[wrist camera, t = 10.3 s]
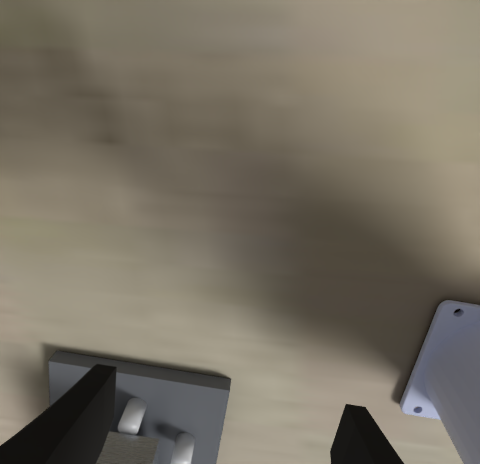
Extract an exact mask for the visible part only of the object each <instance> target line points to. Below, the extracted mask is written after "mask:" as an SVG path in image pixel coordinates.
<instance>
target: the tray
mask: <svg viewBox="0 0 480 464" xmlns="http://www.w3.org/2000/svg"><path fill="white" fill-rule="evenodd" d="M96 364H102V365H108V366H114V367H117V371H116V390H115V408H114V418H113V421H112V424H111V427H110V430H109V431H110V432H116V433H123V434H130V435H137V436H143V437H150V438H157V439H159V458H158V464H216V461H217V456H218V450H219V445H220V440H221V434H222V429H223V424H224V418H225V413H226V408H227V403H228V397H229V392H230V383H231V379H228V378H222V377H215V376H209V375H203V374H197V373H191V372H185V371H179V370H172V369H166V368H160V367H154V366H148V365H142V364H136V363H130V362H123V361H117V360H111V359H105V358H99V357H93V356H87V355H80V354H74V353H68V352H62V351H56V352H55V353H54V355H53V356H52V357H51V359H50V360H49V394H50V406H51V405H52V404H53V403H54V402H56V401H57V400H58V399H59V398H60V397H61V396H62V395H64V394H65V393H66V392H67V391H68V390H69V389H70V388H71V387H72V386H73V385H74V384H75V383H77V382H78V381H79V380H80V379H81V378H82V377H83V376H84V375H85V374H86V373H87V372H88V371H89V370H90V369H91V368H92V367H93V366H95V365H96Z"/></svg>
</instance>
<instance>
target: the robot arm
mask: <svg viewBox="0 0 480 464" xmlns="http://www.w3.org/2000/svg"><path fill="white" fill-rule="evenodd" d="M457 309H460V311H459V312H457V313H454V311H455V310H457ZM116 371H117V367H114V366H108V365H102V364H96V365H95V366H93V367H92V368H91V369H90V370H89V371H88V372H87V373H86V374H85V375H84V376H83V377H82V378H81V379H80V380H79V381H78V382H77V383H75V384H74V385H73V386H72V387H71V388H70V389H69V390H68V391H67V392H66V393H65V394H64V395H62V396H61V397H60V398H59V399H58V400H57V401H56V402H54V403H53V404H52V405H51V406H50V407H49V408H48V409H46V410H45V411H44V412H43V413H42V414H41V415H39V416H38V417H37V418H36V419H34V420H33V421H32V422H31V423H29V424H28V425H27V426H26V427H24V428H23V429H22V430H20V431H19V432H18V433H17V434H15V435H14V436H13V437H12V438H10V439H9V440H7V441H6V442H5V443H3V444H2V445H1V446H0V464H96V462H97V460H98V458H99V456H100V454H101V451H102V449H103V446H104V444H105V441H106V438H107V435H108V433H109V430H110V427H111V424H112V421H113V418H114V408H115V390H116ZM415 407H418V408H415ZM400 408H401V410H402V412H403V413H405V414H409V415H415V416H422V417H428V418H434V419H440V420H441V421H442V423H443V425H444V427H445V428H446V430H447V432H448V434H449V436H450V438H451V440H452V442H453V444H454V446H455V448H456V450H457V452H458V454H459V456H460V458H461V459H462V461H463V463H464V464H480V305H476V304H470V303H464V302H458V301H452V300H446V301H443V302H441V303H440V304H439V306H438V308H437V310H436V313H435V316H434V318H433V321H432V323H431V326H430V328H429V331H428V333H427V336H426V338H425V341H424V343H423V346H422V348H421V351H420V353H419V356H418V359H417V361H416V364H415V366H414V369H413V371H412V374H411V376H410V379H409V381H408V384H407V386H406V389H405V391H404V394H403V397H402V399H401V402H400ZM330 455H331V464H404V463H403V461H402V460H401V459H400V457H399V456H398V454H397V453H396V452H395V450H394V449H393V447H392V446H391V444H390V443H389V441H388V440H387V438H386V437H385V435H384V434H383V433H382V431H381V430H380V428H379V427H378V425H377V424H376V422H375V421H374V419H373V418H372V416H371V415H370V413H369V412H368V410H367V409H366V407H362V406H355V405H349V404H346V405H345V408H344V411H343V414H342V417H341V420H340V424H339V427H338V430H337V433H336V436H335V439H334V442H333V445H332V448H331V451H330Z"/></svg>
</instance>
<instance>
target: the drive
mask: <svg viewBox="0 0 480 464" xmlns="http://www.w3.org/2000/svg"><path fill="white" fill-rule="evenodd" d="M158 458H159V439H157V438H150V437H143V436H137V435H130V434H123V433H116V432H110V431H109V433H108V435H107V438H106V441H105V444H104V446H103V449H102V451H101V454H100V456H99V458H98V460H97V462H96V464H158Z"/></svg>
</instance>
